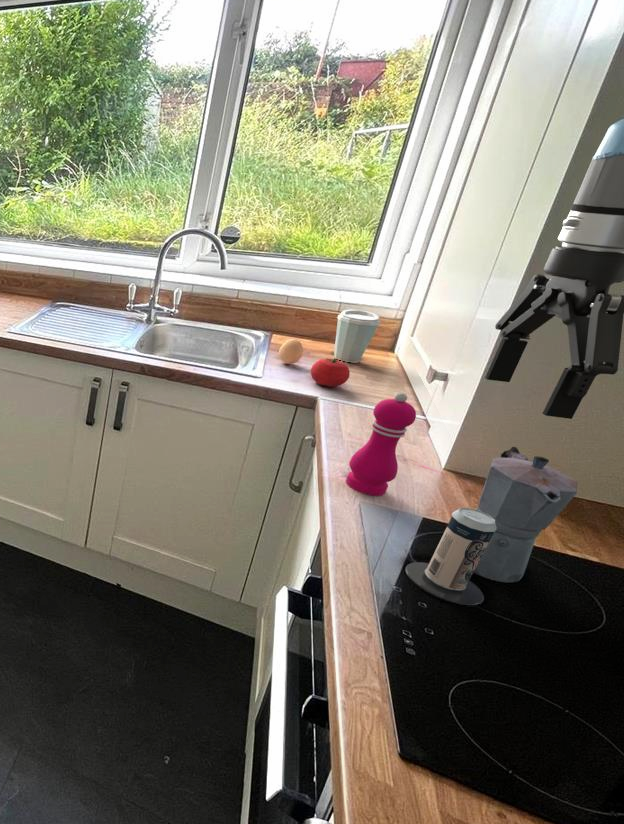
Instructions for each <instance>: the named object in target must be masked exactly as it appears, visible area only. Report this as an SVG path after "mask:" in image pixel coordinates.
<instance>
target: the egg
mask: <svg viewBox="0 0 624 824" xmlns="http://www.w3.org/2000/svg"><path fill="white" fill-rule="evenodd" d="M303 354H304V347H303V344H302V342H301V341H300V340H298V339H296V338H290V339H288V340H285V342H283V344H281V346H280V348H279V349H278V358H279V360H280V361H281V362H282V363H283V364H285V365H295V364H297V363H298V362H299V361H300V360H301V359H302V357H303Z"/></svg>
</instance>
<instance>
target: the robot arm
mask: <svg viewBox="0 0 624 824" xmlns="http://www.w3.org/2000/svg"><path fill="white" fill-rule="evenodd" d="M557 240H558V241H559V242H560V243H562V244H559V245H555V247H552V249H551V251H550V253H549V256H548V258H547V260H546V263H545V264H544V267H543V272H544V273H545V274H539V273H538V274H537V273H536V274H534V275H533V276H532V278H531V279H530V281H529V283H528V285H527V287H526V288H525V289H524V291H523V292H522V293H521V294H520V295H519V296H518V298H517V299H516V300H515V301H514V302H513V304H512V305H511V306H510V307H509V308H508V309H507V310H506V312H505V313H504V314H503V315H502V316H501V318H500V319H498V321H497V322H496V323H495V327H494V329H495V330H498V331H500V337H502V338H501V340H500V343H499V345H498V347H497V349H496V351H495V355H494V357H493V359H492V361H491V363H490V365H489V368H488V370H487V372H486V374H485V377H484V379H485V380H486V381H493V382H494V381H496V382H503V383H510V382H511V380H512V377H513V376H514V373H515V371H516V369H517V367H518V365H519V362H520V361H521V358H522V357H523V354H524V352H525V349H526V348H527V345H528V342H529V341H527V340H531V337H530V335H531V334H533V332H535V331H536V330H538V329H539V328H540V327H543V326H544V325H545V324H546V323H547V322H549V321H550V320H551V319H553V318H554V317H555V316H556V317H557V318H559V319H561V322H562V324H564V325H566V327H567V335H568V346H569V355H570V364H571V365H568V366H566V367H564V369H563V371H562V372H561V375H560V377H559V379H558V381H557V383H556V385H555V387H554V389H553V391H552V393H551V394H550V397H549V399H548V401H547V402H546V405H545V407H544V408H543V411H542V412H541V413H542V414H543V415H544V416H546V417H554V418H561V419H569V420H572V419H573V417H574V415H575V413H576V412H577V410H578V408H579V406H580V404H581V402H582V400H583V398H584V397H585V396H586V395H587V394H588V392H589V390H590V388H591V387H592V384H593V382H594V381H595V378H596V377H597V376H598V375H612V376H613V375H616V374H617V372H618V370H619V363H620V361H619V360H620V351H621V342H622V333H623V322H624V294H614V293H613V294H612V293H609V292H610V289H611V288H610V287H611V286H612V285H614V284H618V283H624V118H622V119H619V120H617V121H616V122H614V123H613V124H611V125H610V126H609V127H608V129H607V131H606V132H605V135H604V136H603V138H602V141H601V143H600V144H599V146H598V148H597V150H596V152H595V154H594V155H593V156H592V159H591V162H590V163H589V167H588V169H587V170H586V173H585V176H584V178H583V180H582V183H581V185H580V187H579V189H578V192H577V194H576V196H575V199H574V201H573V204H572V206H571V208H570V211H569V213H568V215H567V217H566V219H564V220H563V222H562V229H561V231H560V233H559V235H558V237H557Z"/></svg>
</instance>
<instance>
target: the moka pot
mask: <svg viewBox="0 0 624 824" xmlns="http://www.w3.org/2000/svg"><path fill="white" fill-rule="evenodd" d="M548 463H550V460H549V459H548V458H546V457H543V456H540V455H539V456H538V455H535V456H534V457H533V460H532V461H531V460H529V458H528V457H527V456H526V454H523V453H521V452H520V451H519V449H518V448H517V447H516V446H512V447H510V448H509V449H507V450H504V451H503V452H501V453H500V457H493V458H492V461H491V464H490V467H489V469H488V472H487V476H486V479H485V482H484V485H483V488H482V492H481V494H480V498H479V501H478V505H477V508H476V510H479V511H481V512H483V513H485V514H488V515H490V516H491V517H492V518H493V519H494V520H495V523H496V527H497V529H496V531H495V532H494V534H493V535H492V537H491V539H490V541H489V543H488V545H487V547H486V549H485V551H484V553H483V555H482V556H481V558H480V560H479V562H478V564H477V566H476V568H475V570H474V572H473V574H475V575H478V576H480V577H482V578H485V579H488V580H491V581H494V580H495V581H494V582H500V583H507V584H508V583H517V582H519V581H520V580H521V579H522V578H523V577H524V575H525V572H526V569H527V566H528V563H529V560H530V557H531V554H532V551H533V548H534V545H535V542H536V540H537V539H536V538H537V537H538V536H539V535H540V534H541V532H542V531H545V530H546V529H547V528H548V527H549V526H550V525H551V524H552V523H553V522H554V520H555V519H556V518H557V517H558V515H559V514H560V513H561V512H562V511H563V510H564V509H565V508H566V506H567V505H568V504H569V503H570V502H571V501H572V500H573V499H574V498H575V496H577V493H578V481H577V480H575V479H574V478H572V477H570V476H568V475H567V474H565V473H563V472H561V471H559V470H558V469H556V468H554V467H552V466H548V465H547V464H548Z"/></svg>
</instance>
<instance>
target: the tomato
mask: <svg viewBox="0 0 624 824" xmlns="http://www.w3.org/2000/svg"><path fill="white" fill-rule="evenodd" d="M349 368H350V367H348V365H347V364H346V362H343V361H339V360H336V358H334V357H333V358H322V359H321V358H320V359H319V360H317V361H316V362H314V364H313V365H311V369H310V376H311V378H312V380H313V381H314V382H315V383H317V384H318V385H321V386H323V387H328V388H336V387H339V386H342V385H343V384H345V383H346V382H347V381H348V380H349V379H350V375H351V373H350V369H349Z"/></svg>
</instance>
